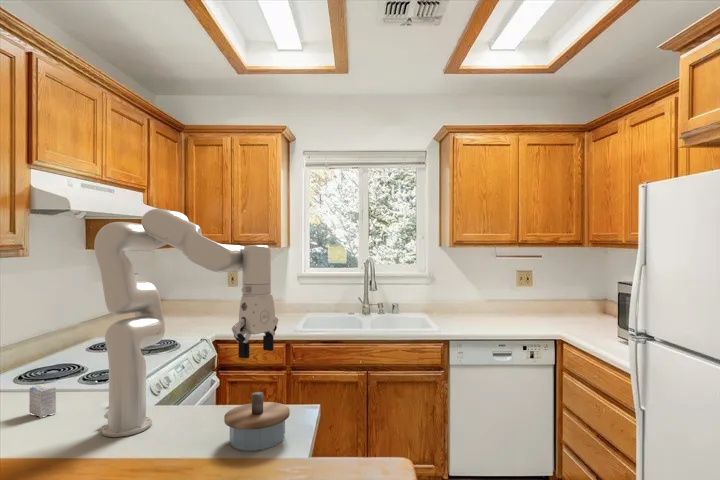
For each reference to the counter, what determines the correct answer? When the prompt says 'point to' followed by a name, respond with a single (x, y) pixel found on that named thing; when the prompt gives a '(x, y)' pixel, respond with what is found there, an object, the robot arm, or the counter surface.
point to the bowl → (257, 437)
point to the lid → (256, 414)
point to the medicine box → (42, 400)
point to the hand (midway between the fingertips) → (256, 353)
